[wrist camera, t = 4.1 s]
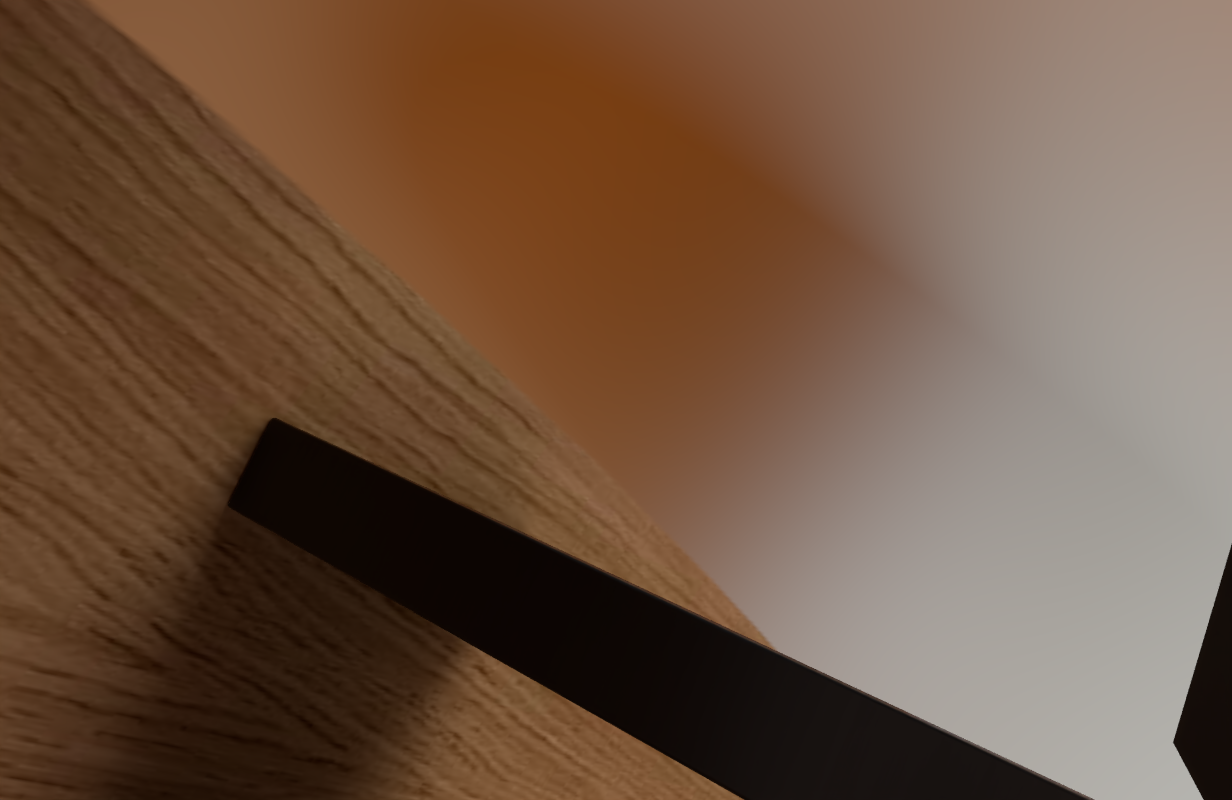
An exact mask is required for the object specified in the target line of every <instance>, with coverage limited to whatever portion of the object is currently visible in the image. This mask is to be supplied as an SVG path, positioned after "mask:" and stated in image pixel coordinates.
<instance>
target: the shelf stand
mask: <svg viewBox="0 0 1232 800" xmlns="http://www.w3.org/2000/svg"><path fill="white" fill-rule="evenodd" d="M228 506H229V507H230V508H231V509H233V510H234V511H236V512H238V513H240V514H241V515H243V516H245V517H247V518H248V519H250V520H252V521H254V522H256V523H257V524H259V525H261V526H263V527H264V528H266V529H268V530H270V531H271V532H273V533H275V534H277V535H278V536H280V537H282V538H284V539H286V540H287V541H289V542H291V543H293V544H294V545H296V546H298V547H300V548H301V549H303V550H305V551H307V552H308V553H310V554H312V555H314V556H315V557H317V558H319V559H321V560H323V561H324V562H326V563H328V564H330V565H331V566H333V567H335V568H337V569H338V570H340V571H342V572H344V573H345V574H347V575H349V576H351V577H353V578H354V579H356V580H358V581H360V582H361V583H363V584H365V585H367V586H368V587H370V588H372V589H374V590H375V591H377V592H379V593H381V594H383V595H384V596H386V597H388V598H390V599H391V600H393V601H395V602H397V603H398V604H400V605H402V606H404V607H405V608H407V609H409V610H411V611H412V612H414V613H416V614H418V615H420V616H421V617H423V618H425V619H427V620H428V621H430V622H432V623H434V624H435V625H437V626H439V627H441V628H442V629H444V630H446V631H448V632H450V633H451V634H453V635H455V636H457V637H458V638H460V639H462V640H464V641H465V642H467V643H469V644H471V645H472V646H474V647H476V648H478V649H479V650H481V651H483V652H485V653H487V654H488V655H490V656H492V657H494V658H495V659H497V660H499V661H501V662H502V663H504V664H506V665H508V666H509V667H511V668H513V669H515V670H517V671H518V672H520V673H522V674H524V675H525V676H527V677H529V678H531V679H532V680H534V681H536V682H538V683H539V684H541V685H543V686H545V687H547V688H548V689H550V690H552V691H554V692H555V693H557V694H559V695H561V696H562V697H564V698H566V699H568V700H569V701H571V702H573V703H575V704H576V705H578V706H580V707H582V708H584V709H585V710H587V711H589V712H591V713H592V714H594V715H596V716H598V717H599V718H601V719H603V720H605V721H606V722H608V723H610V724H612V725H614V726H615V727H617V728H619V729H621V730H622V731H624V732H626V733H628V734H629V735H631V736H633V737H635V738H636V739H638V740H640V741H642V742H644V743H645V744H647V745H649V746H651V747H652V748H654V749H656V750H658V751H659V752H661V753H663V754H665V755H666V756H668V757H670V758H672V759H673V760H675V761H677V762H679V763H681V764H682V765H684V766H686V767H688V768H689V769H691V770H693V771H695V772H696V773H698V774H700V775H702V776H703V777H705V778H707V779H709V780H711V781H712V782H714V783H716V784H718V785H719V786H721V787H723V788H725V789H726V790H728V791H730V792H732V793H733V794H735V795H737V796H739V797H740V798H742V799H744V800H1094V799H1092V798H1090V797H1088V796H1085V795H1083V794H1081V793H1079V792H1077V791H1075V790H1073V789H1070V788H1068V787H1066V786H1064V785H1062V784H1060V783H1057V782H1055V781H1053V780H1051V779H1049V778H1047V777H1045V776H1042V775H1040V774H1038V773H1036V772H1034V771H1032V770H1030V769H1028V768H1025V767H1023V766H1021V765H1019V764H1017V763H1015V762H1013V761H1011V760H1008V759H1006V758H1004V757H1002V756H1000V755H998V754H996V753H993V752H991V751H989V750H987V749H985V748H983V747H980V746H979V745H976V744H974V743H972V742H970V741H968V740H966V739H964V738H961V737H959V736H957V735H955V734H953V733H951V732H948V731H946V730H944V729H942V728H940V727H938V726H936V725H934V724H931V723H929V722H927V721H925V720H923V719H921V718H919V717H916V716H914V715H912V714H910V713H908V712H906V711H904V710H902V709H899V708H897V707H895V706H893V705H891V704H889V703H887V702H884V701H882V700H880V699H878V698H876V697H874V696H872V695H869V694H867V693H865V692H863V691H861V690H859V689H857V688H854V687H852V686H850V685H848V684H846V683H843V682H842V681H840V680H837V679H835V678H833V677H831V676H829V675H827V674H825V673H822V672H820V671H818V670H816V669H814V668H812V667H809V666H807V665H805V664H803V663H801V662H799V661H797V660H795V659H792V658H790V657H788V656H786V655H784V654H782V653H780V652H778V651H775V650H773V649H771V648H769V647H767V646H765V645H763V644H760V643H758V642H756V641H754V640H752V639H750V638H748V637H745V636H743V635H741V634H739V633H737V632H735V631H733V630H730V629H728V628H726V627H724V626H722V625H720V624H718V623H715V622H713V621H711V620H709V619H707V618H705V617H703V616H701V615H698V614H696V613H694V612H692V611H690V610H688V609H686V608H683V607H681V606H679V605H677V604H675V603H673V602H671V601H668V600H666V599H664V598H662V597H660V596H658V595H656V594H653V593H651V592H649V591H647V590H645V589H643V588H641V587H639V586H636V585H634V584H632V583H630V582H628V581H626V580H624V579H621V578H619V577H617V576H615V575H613V574H611V573H609V572H606V571H604V570H602V569H600V568H598V567H596V566H594V565H591V564H589V563H587V562H585V561H583V560H581V559H579V558H576V557H574V556H572V555H570V554H568V553H566V552H564V551H562V550H559V549H557V548H555V547H553V546H551V545H549V544H547V543H544V542H542V541H540V540H538V539H536V538H534V537H532V536H529V535H527V534H525V533H523V532H521V531H519V530H517V529H514V528H512V527H510V526H508V525H506V524H504V523H501V522H499V521H497V520H495V519H493V518H491V517H488V516H486V515H484V514H482V513H480V512H478V511H476V510H473V509H471V508H469V507H467V506H465V505H463V504H460V503H458V502H456V501H454V500H452V499H450V498H447V497H445V496H443V495H441V494H439V493H437V492H434V491H432V490H430V489H428V488H426V487H424V486H422V485H419V484H417V483H415V482H413V481H411V480H409V479H406V478H404V477H402V476H400V475H398V474H396V473H393V472H391V471H389V470H387V469H385V468H383V467H381V466H378V465H376V464H374V463H372V462H370V461H368V460H365V459H363V458H361V457H359V456H357V455H355V454H352V453H350V452H348V451H346V450H344V449H342V448H340V447H337V446H335V445H333V444H331V443H329V442H327V441H324V440H322V439H320V438H318V437H316V436H314V435H311V434H309V433H307V432H305V431H303V430H301V429H298V428H296V427H294V426H292V425H290V424H288V423H286V422H283V421H281V420H279V419H277V418H272V419H271V421H270V423H269V425H268V427H267V429H266V431H265V433H264V435H263V437H262V439H261V441H260V443H259V445H258V447H257V449H256V451H255V453H254V455H253V457H252V459H251V460H250V462H249V464H248V466H247V468H246V470H245V472H244V474H243V476H242V478H241V480H240V482H239V484H238V486H237V488H236V490H235V492H234V494H233V496H232V498H231V500H230V502H229V504H228Z"/></svg>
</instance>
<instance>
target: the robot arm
mask: <svg viewBox="0 0 1232 800" xmlns="http://www.w3.org/2000/svg"><path fill="white" fill-rule="evenodd" d="M1173 743H1174V745H1175V747H1176V748H1177V750H1178V752H1179V754H1180V756H1181V758H1182V760H1183V762H1184V764H1185V766H1186V767H1187V769H1188V771H1189V773H1190V775H1191V777H1192V779H1193V780H1194V782H1195V784H1196V786H1197V788H1198V790H1199V792H1200V793H1201V796H1202V798H1203V799H1204V800H1232V545H1231V549H1230V552H1229V555H1228V559H1227V562H1226V566H1225V569H1224V572H1223V576H1222V579H1221V583H1220V586H1219V589H1218V593H1217V596H1216V599H1215V603H1214V607H1213V609H1212V613H1211V616H1210V619H1209V623H1208V626H1207V630H1206V633H1205V636H1204V640H1203V643H1202V647H1201V650H1200V653H1199V657H1198V660H1197V663H1196V667H1195V670H1194V674H1193V677H1192V680H1191V684H1190V687H1189V690H1188V694H1187V697H1186V701H1185V704H1184V707H1183V711H1182V715H1181V718H1180V721H1179V724H1178V728H1177V731H1176V734H1175V738H1174V741H1173Z"/></svg>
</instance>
